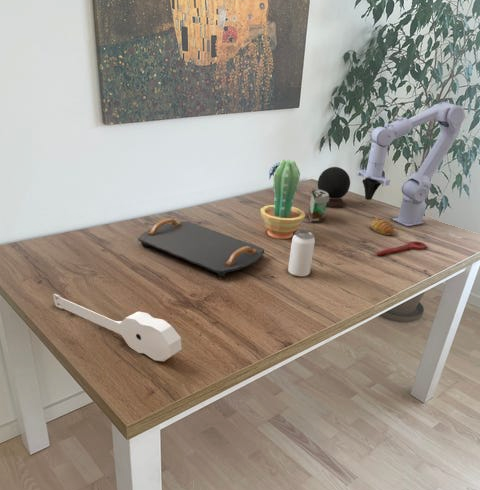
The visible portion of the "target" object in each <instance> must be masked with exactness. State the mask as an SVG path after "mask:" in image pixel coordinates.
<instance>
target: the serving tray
mask: <svg viewBox="0 0 480 490" xmlns="http://www.w3.org/2000/svg"><path fill="white" fill-rule="evenodd" d="M137 241H139V242H140V244H141V246H142V247H144V248H146V247H147V246H151V247H153V248H155V249H157V250H159V251H162V252H165V253H168V254H169V255H172V256H174V257H177V258H180V259H183V260H184V261H186V262H189V263H190V264H194V265H197V266H198V267H199V266H200V267H202V268H204V269H206V270H209V271H210V272H211V271H212V272H214V273H216V274H217V277H218V278H219V279H221V280H223V279H225V277H226V273H231V272H235V271H239V270H242V269H245V268H248V267H250V266H252V265H253V264H256V263H257V262H259V260H261V258H262V257H263V255H264V253H265V249H264V248H263V247H260V246H258V245H255V244H252V243H249V242H248V241H244V240H241V239H238V238H235V237H233V236H231V235H227V234H225V233H221V232H219V231H216V230H214V229H211V228H207V227H205V226H202V225H199V224H197V223H193V222H190V221H177V220H175V219H174V218H165V219H162V220H159V221H158V222H156V223H154V225H153V226H152V228H150V229H148V230H146V231H144V232H143V233H142V234H141V235H140V236H139V237H138V238H137Z"/></svg>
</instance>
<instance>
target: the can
mask: <svg viewBox="0 0 480 490" xmlns="http://www.w3.org/2000/svg"><path fill="white" fill-rule="evenodd" d="M291 238H292V239H291V246H290V252H289V259H288V266H287V271H288V273H289V274H290V275H292V276H293V277H300V278H303V277H307V276H309V275H310V274H311V268H312V262H313V256H314V249H315V243H316V240H315V234H314V233H313V232H311V231H308V230H297V231H296V230H295V231H294V234H293V236H292V237H291Z"/></svg>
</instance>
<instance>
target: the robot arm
mask: <svg viewBox="0 0 480 490" xmlns="http://www.w3.org/2000/svg"><path fill="white" fill-rule="evenodd" d="M465 119H466V114H465V109H464V107H463V106H462V105H459V104H454V103H450V102H448V101H441V102H439V103H434V104H433V105H432V106H431V107H429V108H427V109H425V110H423V111H421V112H419V113H417V114H415V115H414V116H412V117H410V118H407V117H402V116H399V117H397V120H395V121H392V122H390V123H385V124H384V126H377V127H375V128H374V129H373V130H372V132H371V133H370V135H369V138H370V141H371V144H370V149H369V150H370V151H369V155H368V161H367V165H366V170H365V169H357V171H356V176H359V177H363V178H364V179H362V184H363V187H364V199H365V200H367V201H370V200H373V198H374V195H375V193H376V192H377V190H378V188H379V187H380V186H381V185H383V186H385V187H386V186H390V183H391V179H390V178H388V177H385V176H384V175H383V171H384V167H385V161H386V157H387V154H388V153H387V152H388V148H389V146H390V145H391V144H392V143H393V141H395V140H397V139H399V138H401V137H404V136H406V135H408V134H410V133H411V131H412V129H414V128H416V127H418V126H421V125H424V124H427V123H430V122H433V121H436V122H437V123H438V125H439V129H440V131H441V133H440V134H439V136H438V137H437V139H436V141H435V142H434V144H433V146H432V148H431V149H430V151H429V152H428V154H427V155H426V157H425V159H424V160H423V161H422V163H421V165H420V167H419V169H418V170H417V171H416V172H415V173H413V174H411V175H410V176H409V177H408V178H407V180H405V181H404V182H403V183H402V185H401V193H402V200H401V204H400V207H399V211H398V216H397V217H394V218H392V221H394V222H397V223H399V224H401V225H403V226H405V227H413V226H417V225H422V224H424V221H423V220H424V216H425V213H426V208H427V203H426V201H425V200H426V199H427V198H428V196H429V191H430V190H431V187H432V182H431V179H432V178H433V176H434V174H435V172H436V171H437V169H438V168H439V167H440V165H441V163H442V162H443V160H444V158H445V157H446V155H447V154H448V152H449V150H450V149H451V148H452V146H453V144H455V141H456V140H457V138H458V137H459V135H460V132H461V128H462V123H463V122H464V121H465Z"/></svg>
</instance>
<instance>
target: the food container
mask: <svg viewBox="0 0 480 490" xmlns="http://www.w3.org/2000/svg"><path fill="white" fill-rule="evenodd" d="M328 201H329V194H328V193H327V192H325V191H323V190H319V189H318V188H313V187H312V188H311V192H310V200H309V208H308V217H309V221H310V223H312V224H316V223H317V224H318V223H322V222H323V220H324V216H325V212H326V208H327V207H326V204H327V202H328Z"/></svg>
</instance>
